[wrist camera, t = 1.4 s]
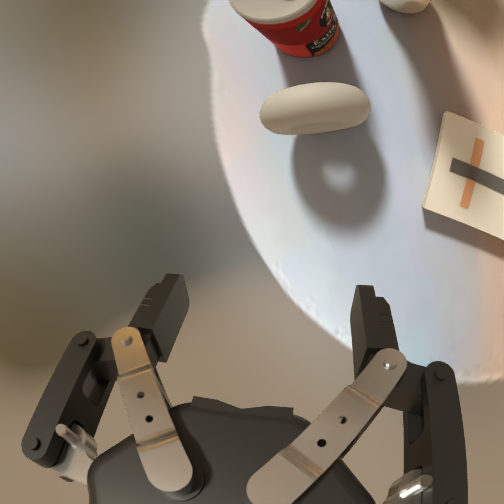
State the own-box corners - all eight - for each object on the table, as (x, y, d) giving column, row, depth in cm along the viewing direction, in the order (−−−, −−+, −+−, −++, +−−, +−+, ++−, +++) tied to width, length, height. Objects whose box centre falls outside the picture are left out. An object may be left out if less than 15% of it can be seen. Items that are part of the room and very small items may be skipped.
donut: (369, 96, 27) (363, 70, 18) (374, 128, 28) (372, 114, 19) (277, 110, 31) (237, 94, 22) (282, 140, 32) (243, 134, 23)
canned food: (329, 68, 28) (303, 30, 18) (262, 50, 30) (213, 15, 20) (349, 12, 24) (330, -41, 15) (282, -3, 26) (242, -49, 17)
